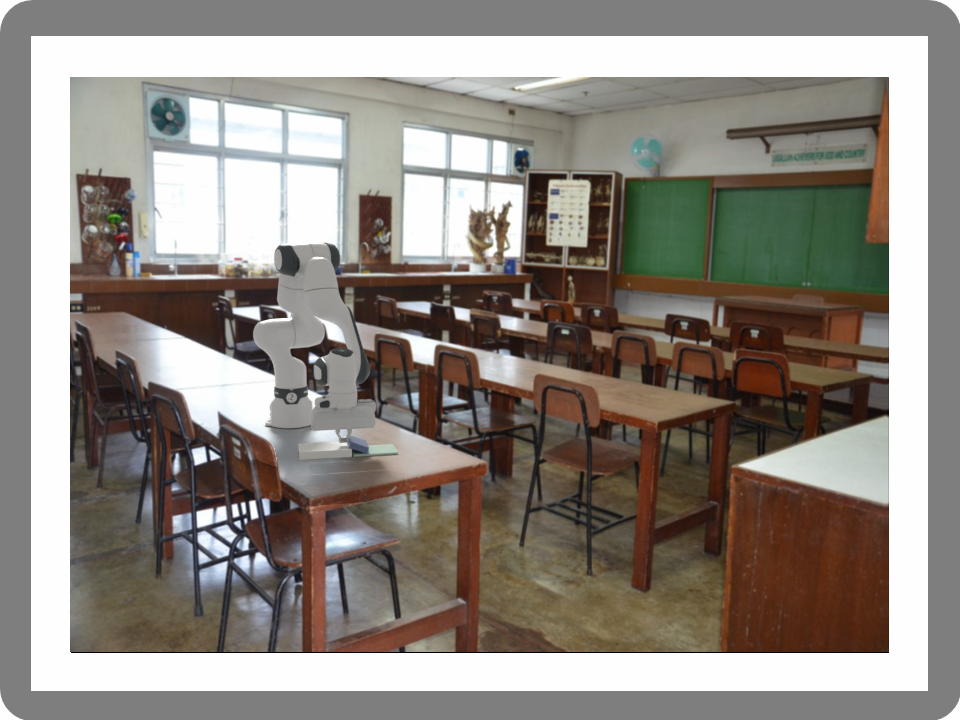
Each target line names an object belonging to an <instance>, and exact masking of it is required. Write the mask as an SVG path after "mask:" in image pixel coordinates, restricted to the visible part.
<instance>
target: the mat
mask: <svg viewBox="0 0 960 720" xmlns="http://www.w3.org/2000/svg"><path fill="white" fill-rule="evenodd" d="M368 446H369V450H368V452H367V454H366V453H363V452H360V451H357V450H354V449H352V457H353V458H355V457H356V458H357V457H375V456H376V457H377V456H390V455H391V456H392V455H398V454H399V452H398V450H397V449H396V447H395V445H394V444H393V443H390V444H389V443H388V444H373V445H372V444H371V445H368Z"/></svg>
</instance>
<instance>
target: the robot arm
mask: <svg viewBox="0 0 960 720" xmlns="http://www.w3.org/2000/svg"><path fill="white" fill-rule="evenodd" d="M273 254H274V255H273V261H274V267H275V270H277V272H278V273H279V277H278V286H277V297H276V301H277V303H278V306H279V307H280V308H281V309H282V310H284V311H286V312H288V313H290V316H289V317H287V318H285V317H283V318H269V319H266V320H261V321H258V322H257V324H256V325H254V328H253V333H252V337H253V341H254V343H255V345H256V346H257V347H258V348H259V349H261V350H262V351H263V352H264V353H265V354H267V355H268V357H269V358H270V361H271V362H272V365H273V371H274V382H275V384H274V385H275V386H274V387H273V393H274V395H273V396H274V399H273V400H272V401H271V402H270V404H269V411H270V413H269V418H268V419H267V420H266V421H265V424H264V425H265V427H266V426H267V427H274V428H279V429H299V428H305V427H309V426H310V428H311V430H313V431H314V432H317V431H318V432H319V431H320V432H321V431H334V432H335V434H336V436H337V437H338V441H339V443H348V442H349V441H348V438H349V436H350V435H351V434H352V432H353V430H358V429H373V428H375V426H376V422H377V421H376V415H375V412H376V411H377V404H376V402H375V401H374V400H373V399H371V398H367V399H365V398H364V399H363V398H362V399H361V398H359V399H358V389H357V385H361V384H363V383H364V382H365V381H366V380H367V379H368V377H369V376H370V373H371V365H370V362H369V360H368V359H369V358H368V357H367V355H366V353H365V351H364V347H363V343H362V340H361V337H360V334H359V330H358V326H357V322H356V319H355V317H354V314H353V312H352V309H351V308H350V307H349V306H348V305H347V304H345V303H344V301H343V299H342V298H341V295H340V290H339V283H338V279H337V275H336V272H337V270H338V269H339V267H340V264H341V253H340V250H339V249H338V247H337V245H336V244H333V243H330V242H316V241H306V242H294V243H290V242H288V243H287V242H286V243H282V244H279V245H278V246H277V247H276V248H275V250H274V253H273ZM321 320H323V321H326V322H329V323H332V324H333V325H336V326H337V327H338V328H339V329H340V330H341V332H342V335H343V339H344V342H345V345H346V348H345V347H335V348H333V349H331V350H329V353H328V354H327V355H324V356H321V357H318V358H317V359H316V360H315V362H314V364H313V365H312V375H313V379H314V381H315V382H316V383H317V384H319V385H320V386H325V387H327V386H328V387H329V388H328V394H324V395H322V396H319V397H316V398H315V399H314V406H313V401H312V400H311V399H310V398H309V387H308V386H309V385H308V384H307V366H306V364H305V362H304V361H303V360H301V359H299V358H296V357H294V356H292V352H291V349H301V348H310V347H314V346H317V345H320V344H321V343H322V342H323V340H324V339H325V333H326V331H325V325H324V324H323V323H322V321H321ZM341 430H346V431H347V433H346V435H344V436H343V435H341V434H340V433H341ZM351 436H352V435H351Z"/></svg>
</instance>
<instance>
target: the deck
mask: <svg viewBox="0 0 960 720" xmlns="http://www.w3.org/2000/svg"><path fill="white" fill-rule="evenodd" d="M297 446H298V458H299V461H305V460H308V461H309V460H319V459H320V460H324V459H340V458H341V459H342V458H352V457H353V454H352V449H351V448H349V446H348V444H347V443H339V440H338V441H323V442H305V443H298V445H297Z"/></svg>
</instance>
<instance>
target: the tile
mask: <svg viewBox="0 0 960 720" xmlns="http://www.w3.org/2000/svg"><path fill="white" fill-rule="evenodd" d="M348 441H349V442H348V443H347V444H348V446H349V448H351V449H354V450H357V451H360V452H363V453H366V454H367V452H368V450H369V446H368V442H367V440H365V439H362V438H359V437H356V436H353V435H350V436H349V438H348Z"/></svg>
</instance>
